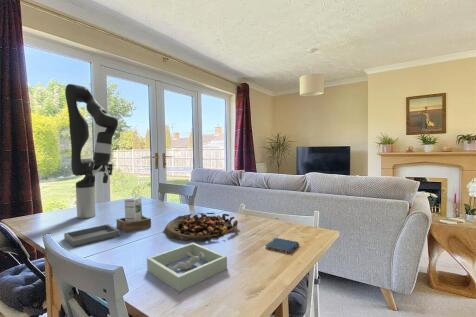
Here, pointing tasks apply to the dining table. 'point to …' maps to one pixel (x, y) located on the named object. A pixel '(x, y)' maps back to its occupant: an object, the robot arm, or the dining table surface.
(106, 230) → the charcoal tray
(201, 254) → the soldier figure
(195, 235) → the food dish
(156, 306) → the dining table surface
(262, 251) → the dining table surface
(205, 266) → the sage display box
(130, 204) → the syrup box
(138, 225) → the walnut collar
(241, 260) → the dining table surface
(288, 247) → the woven mat
